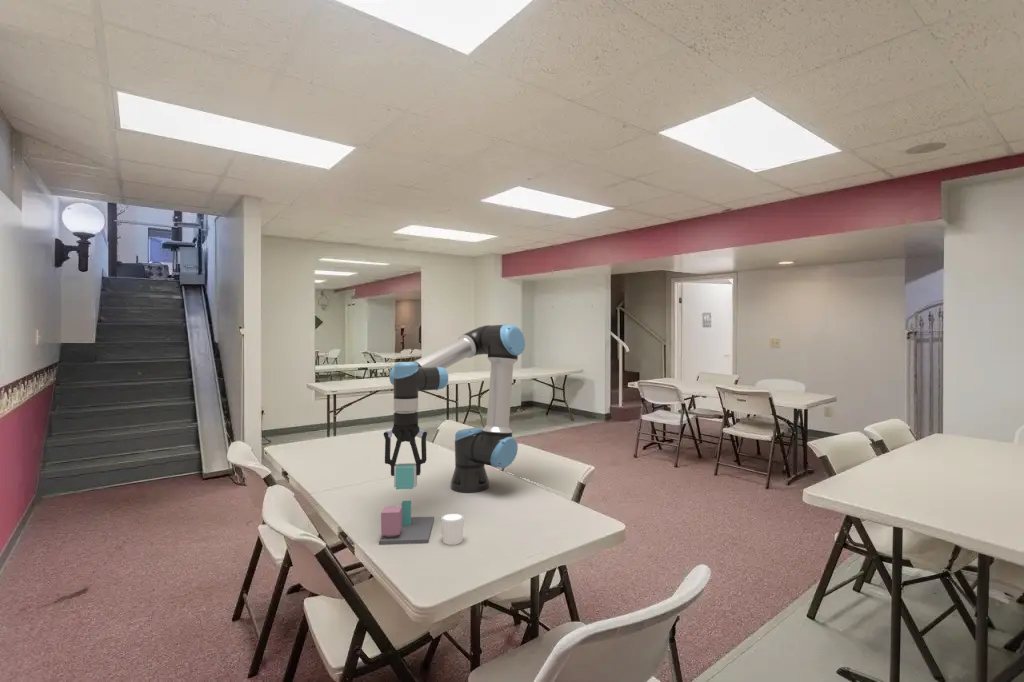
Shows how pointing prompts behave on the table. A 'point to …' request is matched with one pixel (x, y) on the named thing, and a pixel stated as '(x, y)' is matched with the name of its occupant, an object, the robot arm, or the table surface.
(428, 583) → the table surface
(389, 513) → the stand
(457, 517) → the white cup
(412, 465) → the teal rectangular prism
